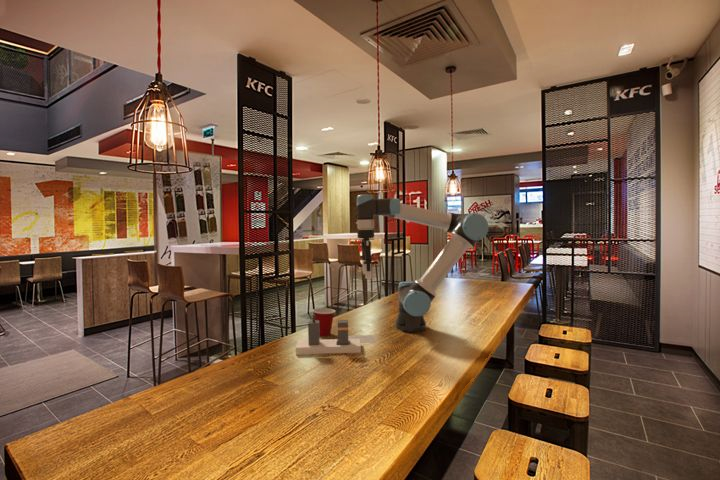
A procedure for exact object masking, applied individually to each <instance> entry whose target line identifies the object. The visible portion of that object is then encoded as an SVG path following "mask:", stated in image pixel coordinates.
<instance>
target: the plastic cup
mask: <svg viewBox="0 0 720 480" xmlns="http://www.w3.org/2000/svg"><path fill="white" fill-rule="evenodd" d="M336 312H337V311H336V310H335V309H333V308H327V307H326V308H323V307H322V308H320V307H319V308H318V307H317V308H314V309H312V313H313V314H315V320H319V331H320V337H328V336H330V335H331V333H332V327H333V321H334V316H335V313H336Z"/></svg>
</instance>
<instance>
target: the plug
mask: <svg viewBox="0 0 720 480" xmlns="http://www.w3.org/2000/svg"><path fill="white" fill-rule="evenodd" d="M348 336H349V320H348V319H338V320H337V339H338V345H348Z"/></svg>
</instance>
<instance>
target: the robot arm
mask: <svg viewBox="0 0 720 480" xmlns="http://www.w3.org/2000/svg"><path fill="white" fill-rule="evenodd" d="M375 216H381V217H382V216H383V217H389V218H393V219H398V220H401V221H402V220H403V221H406V222H412V223H416V224H418V225H419V224H420V225H423V226H429V227H432V228H438V229H442V230H443V231H444V232H445V233H449V234H451V237H450V239H449V240H448V241H447V243H446V244H445V245H444V247H443V248H442V249H441V251H440V252H439V253H438V254H437V256H436V257H435V258H434V260H433V261H432V263H431V264H430V265H429V267H428V268H427V269H426V270H425V271H424V273H423V275H422V276H421V277H420V278H419V279H414V281H400V282H399V283H398V287H397V289H398V312H397V313H398V314H397V316H396V318H395V319H396V320H395V322H394V328H395V330H396V329H397V330H398V331H401V332H404V333H418V332H419V333H420V332H423V331H425V330H427V323H426V319H425V317H424V315H426V314H427V313H428V312H429V310H430V309H431V305H432V304H431V303H432V302H433V301H434V299H435V298H436V296H437V294H436V290H437V289H438V288H439V287H440V285H441V284H442V283H443V282H444V280H445V279H446V278H447V276H448V274H450V272H451V271H452V269H454V267H455V265H456V264H457V263H458V261H459V260H460V259H461V258H462V256H463V255H464V254H465V253H466V251H467V250H468V249H471V248H474V247H475V245H476V244H477V243H478V241H480V240H482V239H484V238H485V237H486V236H487V235H488V232H489V222H488V220H487V218H486V217H485V216H484V215H483V214H480V213H477V212H471V213H454V212H447V213H444V212H440V211H436V210H432V209H426V208H423V207H419V206H414V205H409V204H405V203H401V201H400V198H395V197H392V198H390V197H389V198H374V195H373V194H371V193H369V194H366V193H365V194H358V195H357V196H356V222H355V224H356V225H357V232H356V233H357V234H356V235H357V239H361V258H362V260H361V261H362V274H363V275H365V277H364V278H365V279H366V280H369V279H370V280H371V279H372V278H373V277H372V276H373V275H372V262H373V261H372V247H371V246H372V242H371V240H370V239H374V238H375V230H374V228H375V218H374V217H375Z"/></svg>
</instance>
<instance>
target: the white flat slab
mask: <svg viewBox="0 0 720 480" xmlns="http://www.w3.org/2000/svg"><path fill="white" fill-rule="evenodd" d="M348 339H360V344H361V343H362V344H364V343H366V344H368V343H370V344H371V343H376V338H375V335H374V334H365V335H363V334H361V335H360V334H359V335H358V334H357V335H354V334H353V335H348Z"/></svg>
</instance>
